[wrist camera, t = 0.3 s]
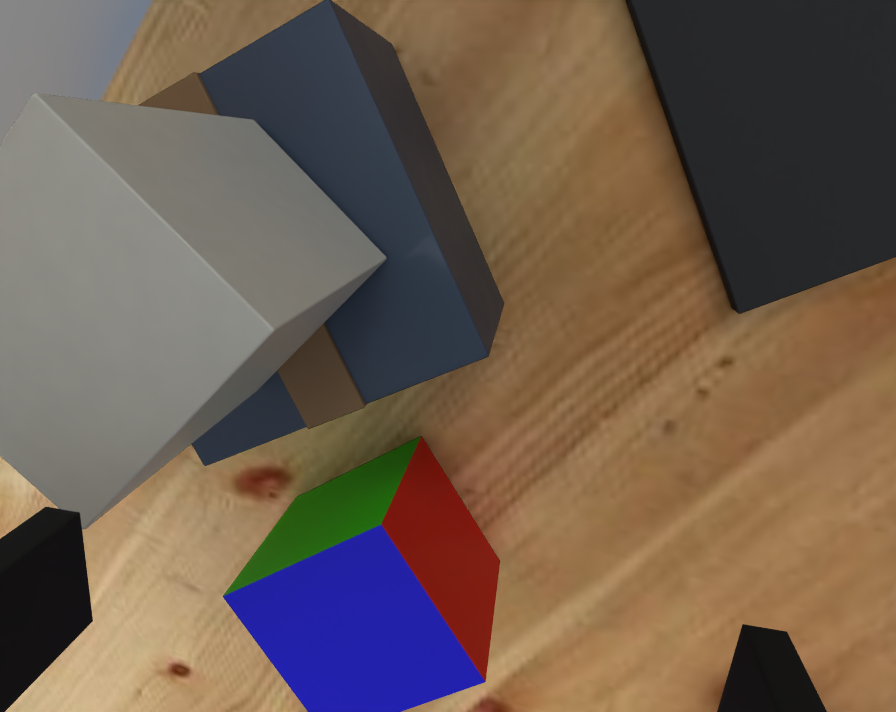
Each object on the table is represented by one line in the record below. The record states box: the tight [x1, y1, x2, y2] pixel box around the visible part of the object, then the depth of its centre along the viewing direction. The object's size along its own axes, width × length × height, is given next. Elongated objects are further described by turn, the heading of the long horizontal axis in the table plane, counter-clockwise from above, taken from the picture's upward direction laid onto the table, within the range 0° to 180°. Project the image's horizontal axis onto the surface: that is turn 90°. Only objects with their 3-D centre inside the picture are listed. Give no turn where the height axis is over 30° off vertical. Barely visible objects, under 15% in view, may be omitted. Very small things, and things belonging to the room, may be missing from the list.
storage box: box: [138, 0, 504, 466], centre depth 25 cm, size 12×12×8 cm
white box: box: [0, 93, 387, 529], centre depth 17 cm, size 6×7×9 cm
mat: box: [626, 0, 896, 314], centre depth 24 cm, size 16×12×1 cm
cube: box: [223, 436, 500, 712], centre depth 29 cm, size 8×8×8 cm
